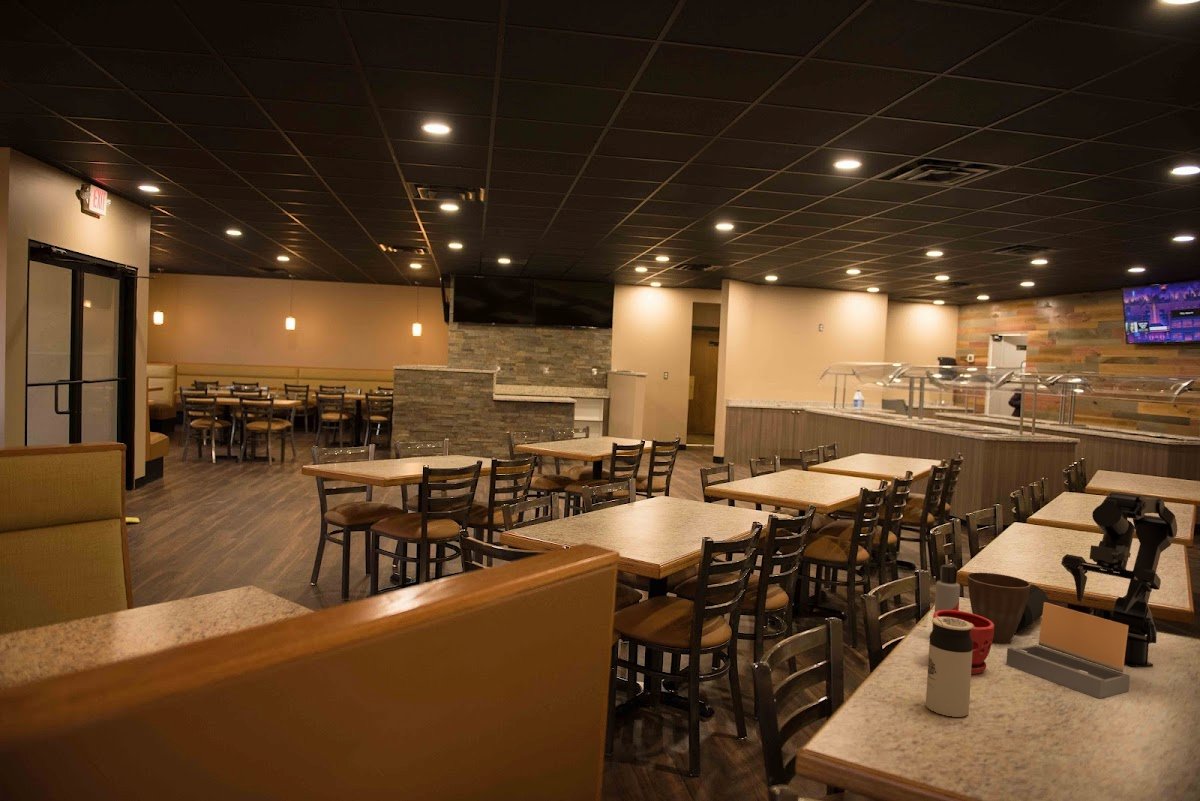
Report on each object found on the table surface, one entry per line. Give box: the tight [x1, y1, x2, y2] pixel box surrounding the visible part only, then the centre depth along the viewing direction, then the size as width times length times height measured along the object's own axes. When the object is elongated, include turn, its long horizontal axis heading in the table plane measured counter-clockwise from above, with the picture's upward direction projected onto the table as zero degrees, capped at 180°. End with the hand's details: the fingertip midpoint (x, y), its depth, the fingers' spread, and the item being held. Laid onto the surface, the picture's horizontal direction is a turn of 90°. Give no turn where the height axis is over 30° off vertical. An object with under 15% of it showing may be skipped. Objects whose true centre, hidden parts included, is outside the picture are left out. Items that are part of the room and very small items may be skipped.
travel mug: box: [925, 617, 974, 718], centre depth 158 cm, size 8×8×18 cm
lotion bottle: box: [933, 563, 961, 614], centre depth 203 cm, size 6×6×20 cm
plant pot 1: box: [931, 610, 994, 675], centre depth 183 cm, size 13×13×12 cm
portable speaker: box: [1016, 583, 1050, 633], centre depth 222 cm, size 26×10×10 cm, turn 139°
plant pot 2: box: [967, 572, 1032, 645], centre depth 206 cm, size 15×15×16 cm
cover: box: [1037, 602, 1129, 673], centre depth 183 cm, size 10×19×1 cm
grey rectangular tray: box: [1005, 644, 1131, 699], centre depth 180 cm, size 11×22×5 cm, turn 28°
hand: (1101, 606), depth 178 cm, fingers open, 9 cm apart
